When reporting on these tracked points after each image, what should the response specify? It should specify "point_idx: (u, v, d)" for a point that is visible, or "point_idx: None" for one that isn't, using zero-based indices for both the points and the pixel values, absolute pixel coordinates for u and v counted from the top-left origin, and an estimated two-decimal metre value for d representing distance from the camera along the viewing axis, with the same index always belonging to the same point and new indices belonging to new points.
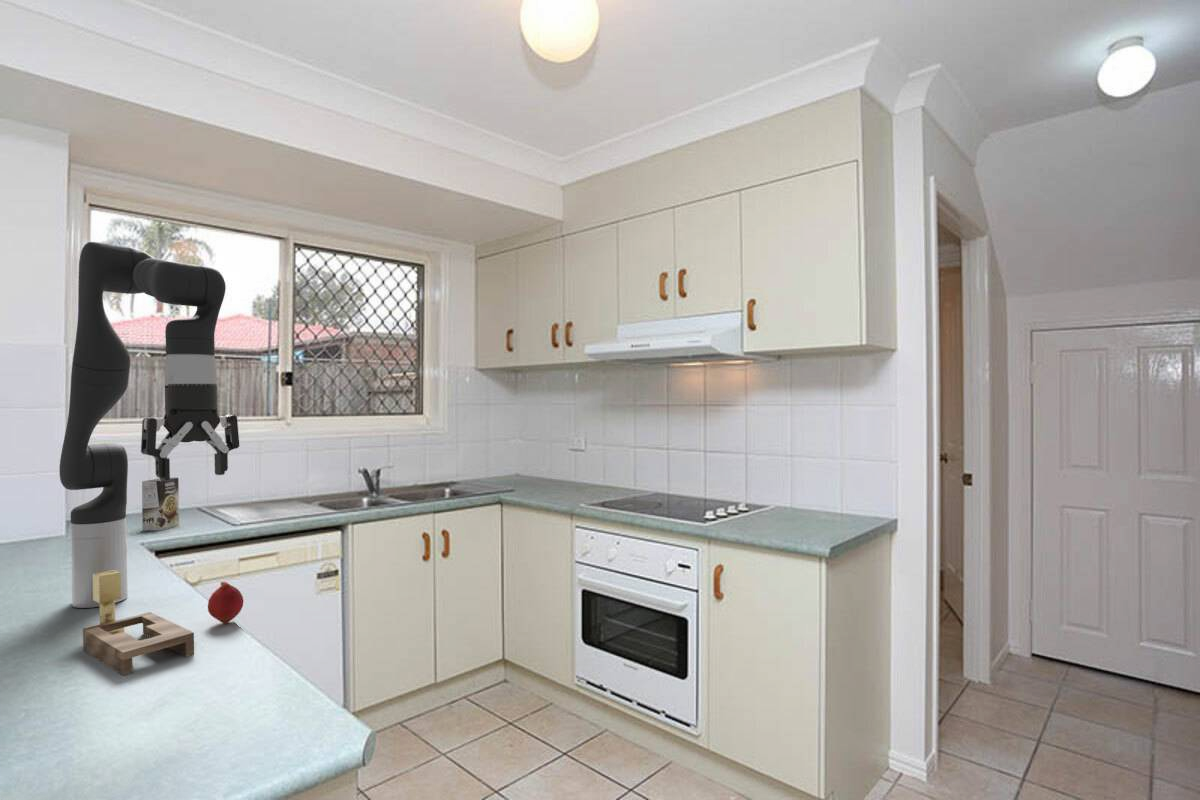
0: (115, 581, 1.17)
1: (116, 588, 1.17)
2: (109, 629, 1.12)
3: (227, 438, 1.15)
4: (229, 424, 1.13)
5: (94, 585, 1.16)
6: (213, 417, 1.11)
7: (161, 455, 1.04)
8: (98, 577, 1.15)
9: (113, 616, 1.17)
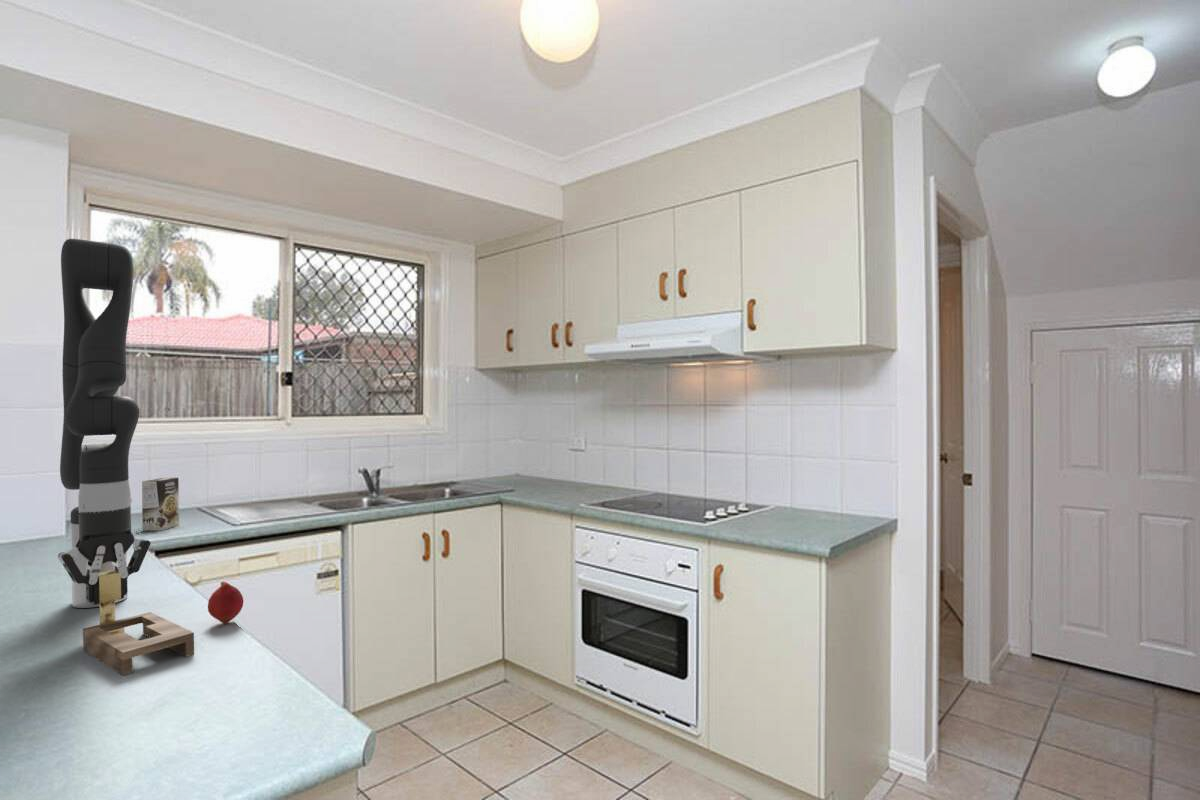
0: (115, 581, 1.17)
1: (116, 588, 1.17)
2: (109, 629, 1.12)
3: (131, 560, 1.21)
4: (140, 548, 1.20)
5: None
6: (128, 537, 1.19)
7: (90, 582, 1.14)
8: (98, 577, 1.15)
9: (113, 616, 1.17)
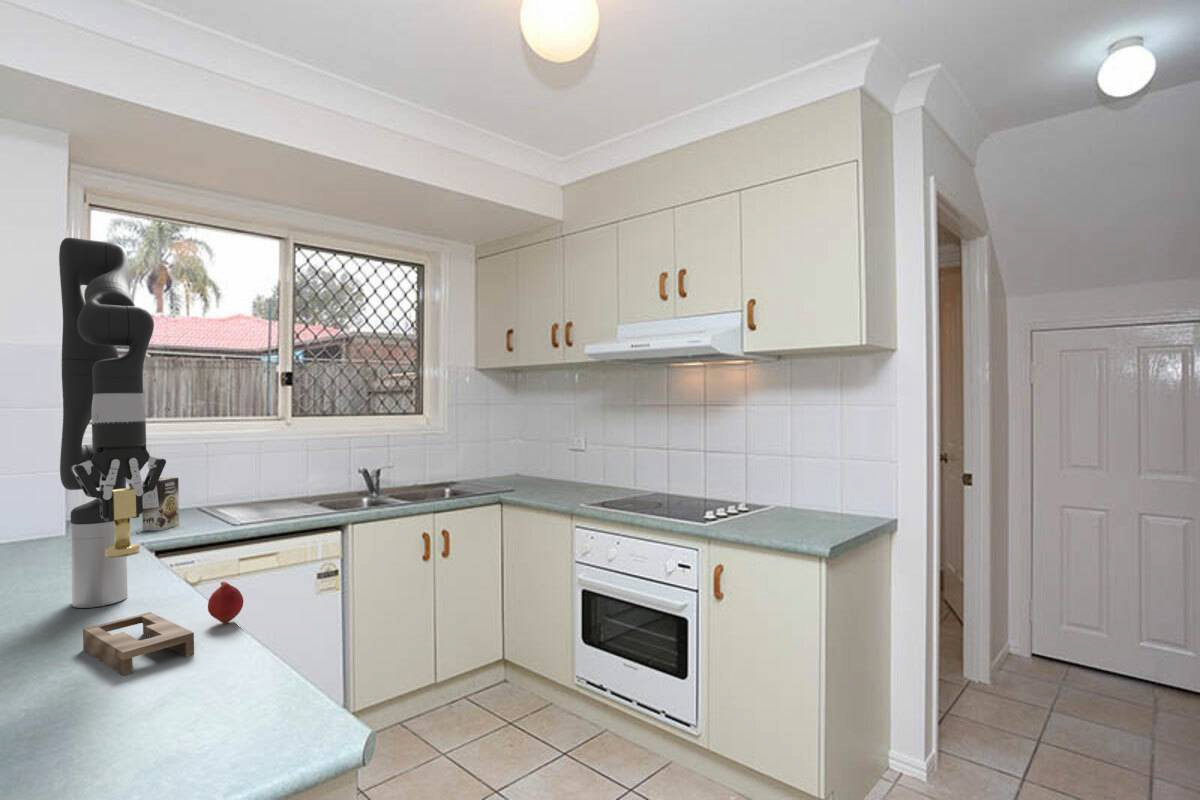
0: (130, 498, 1.11)
1: (131, 505, 1.12)
2: (109, 629, 1.12)
3: (147, 480, 1.16)
4: (155, 466, 1.15)
5: None
6: (143, 453, 1.14)
7: (104, 497, 1.09)
8: (113, 492, 1.10)
9: (128, 535, 1.12)
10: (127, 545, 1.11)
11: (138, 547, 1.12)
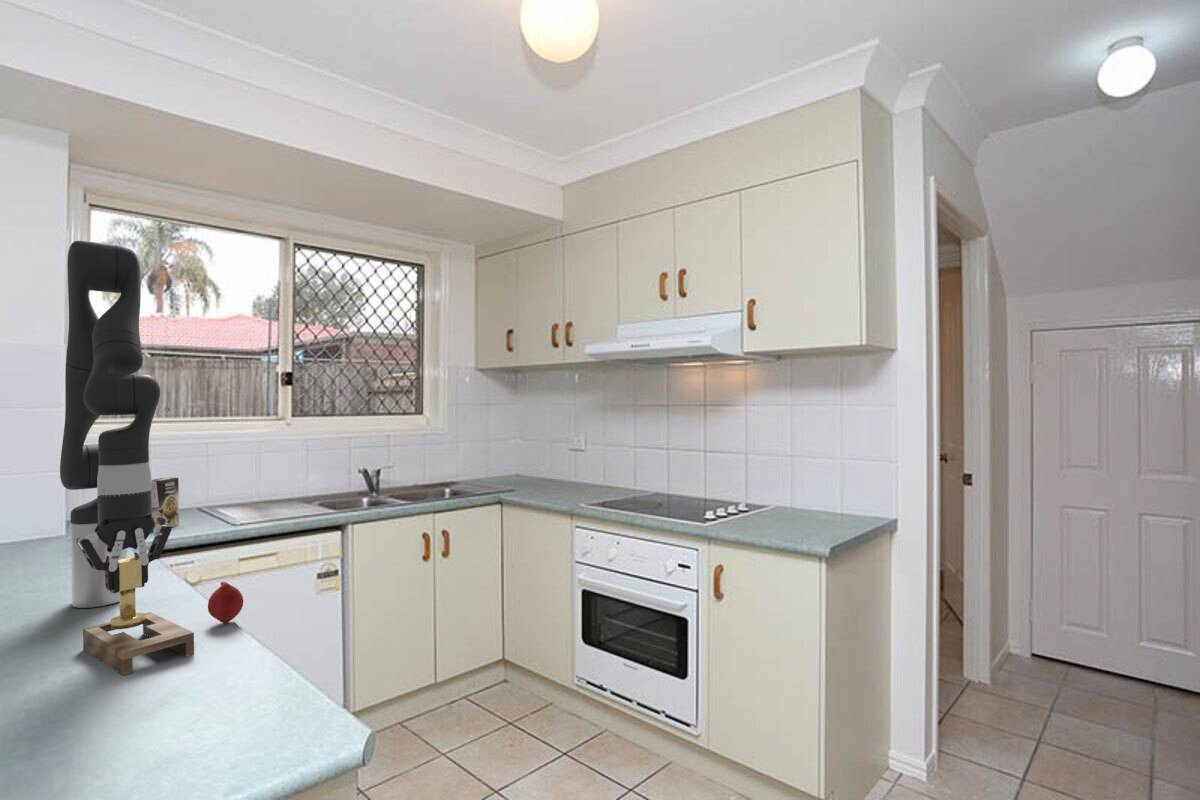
0: (136, 568, 1.11)
1: (137, 575, 1.11)
2: (109, 629, 1.12)
3: (152, 547, 1.15)
4: (161, 533, 1.14)
5: None
6: (149, 522, 1.13)
7: (110, 569, 1.08)
8: (118, 564, 1.09)
9: (134, 605, 1.11)
10: (132, 615, 1.11)
11: (143, 617, 1.12)
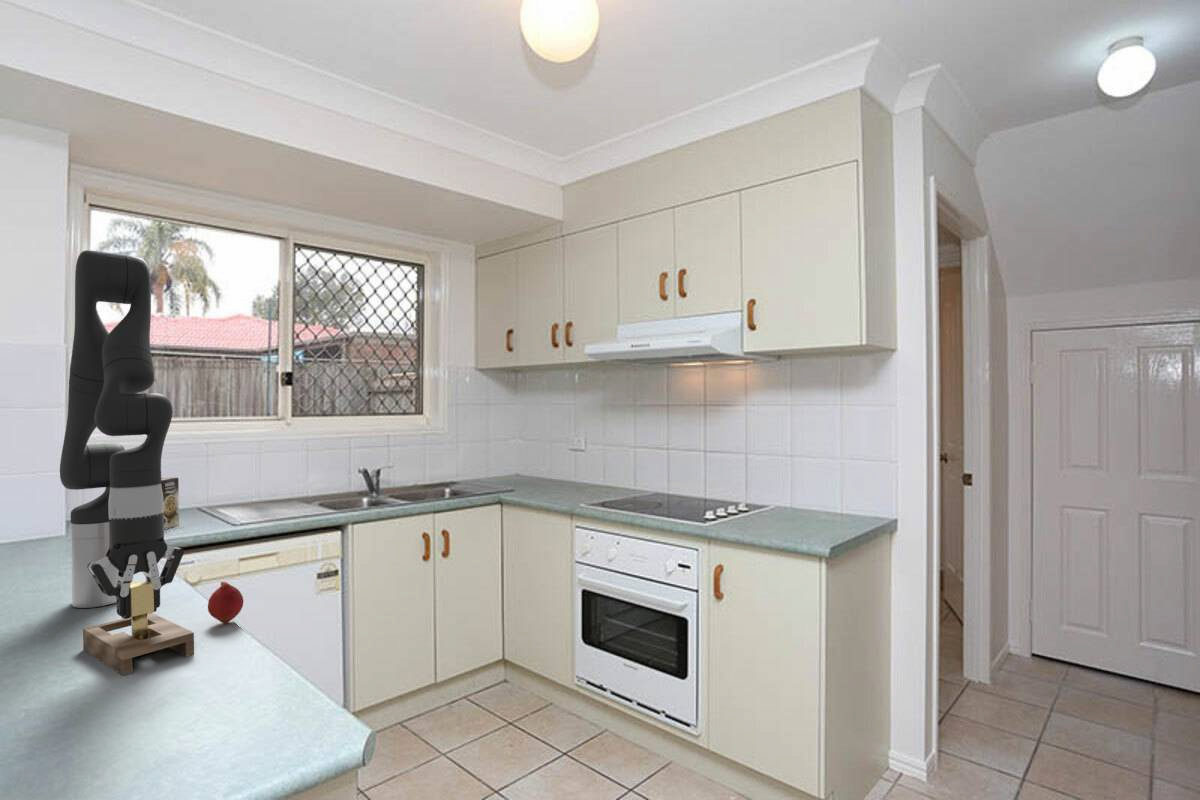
0: (148, 593, 1.08)
1: (149, 600, 1.08)
2: (109, 629, 1.12)
3: (164, 570, 1.12)
4: (173, 556, 1.11)
5: None
6: (161, 545, 1.10)
7: (122, 594, 1.05)
8: (130, 588, 1.06)
9: (146, 631, 1.08)
10: None
11: None
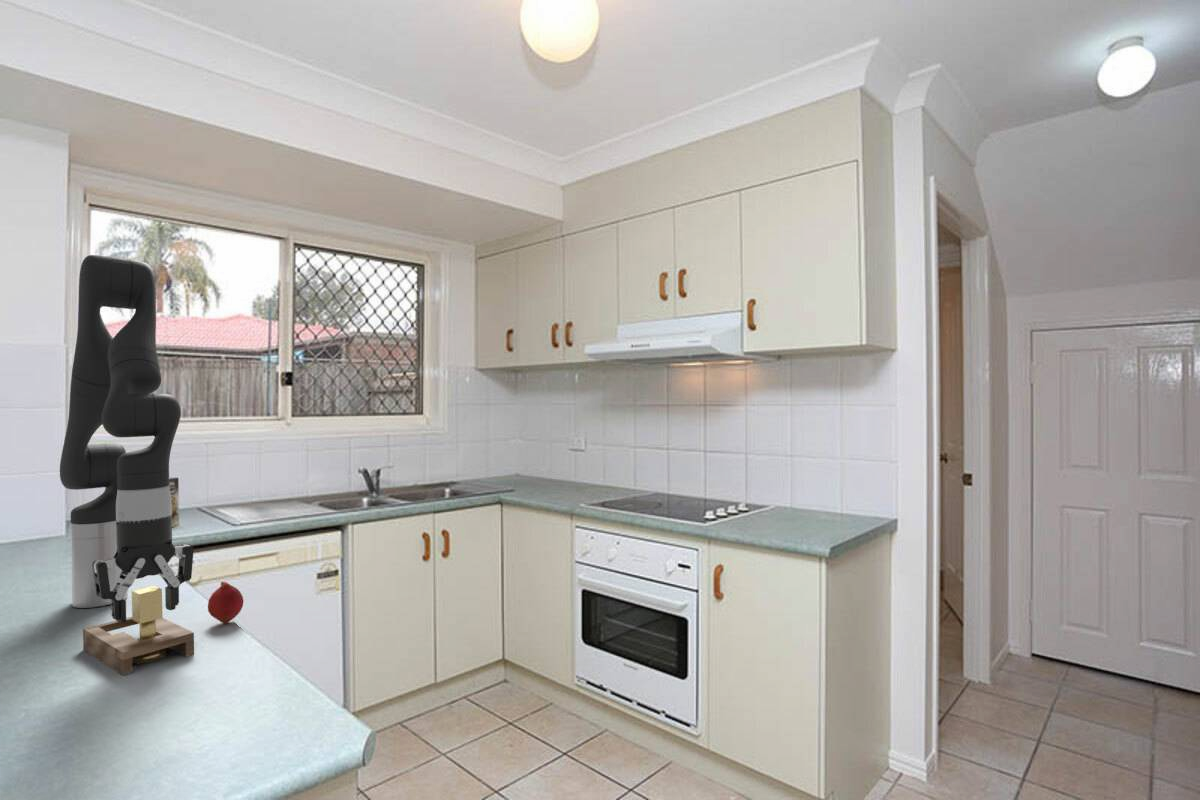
0: (156, 599, 1.06)
1: (157, 606, 1.06)
2: (109, 629, 1.12)
3: (180, 569, 1.11)
4: (184, 555, 1.10)
5: (133, 603, 1.05)
6: (168, 548, 1.08)
7: (117, 597, 1.02)
8: (138, 595, 1.04)
9: None
10: None
11: (164, 649, 1.07)
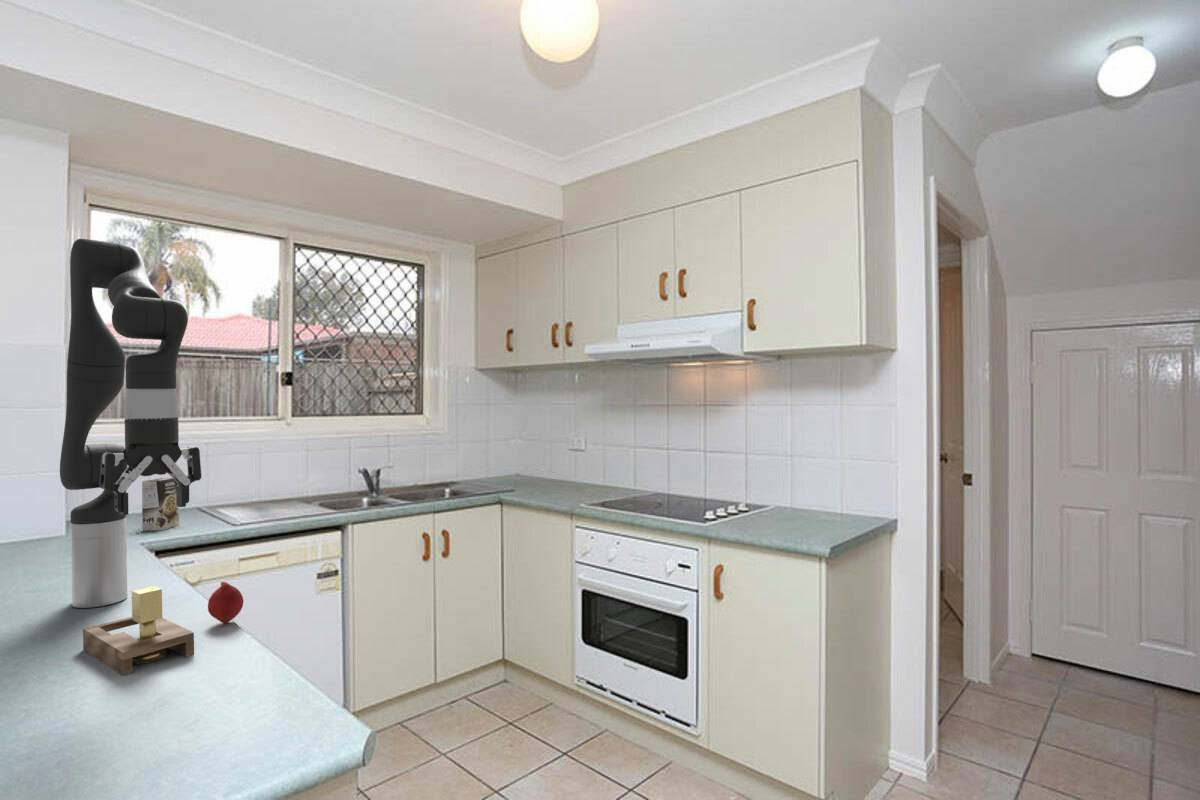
0: (156, 599, 1.06)
1: (157, 606, 1.06)
2: (109, 629, 1.12)
3: (189, 470, 1.15)
4: (191, 456, 1.13)
5: (133, 603, 1.05)
6: (174, 450, 1.11)
7: (119, 490, 1.05)
8: (138, 595, 1.04)
9: None
10: None
11: (164, 649, 1.07)
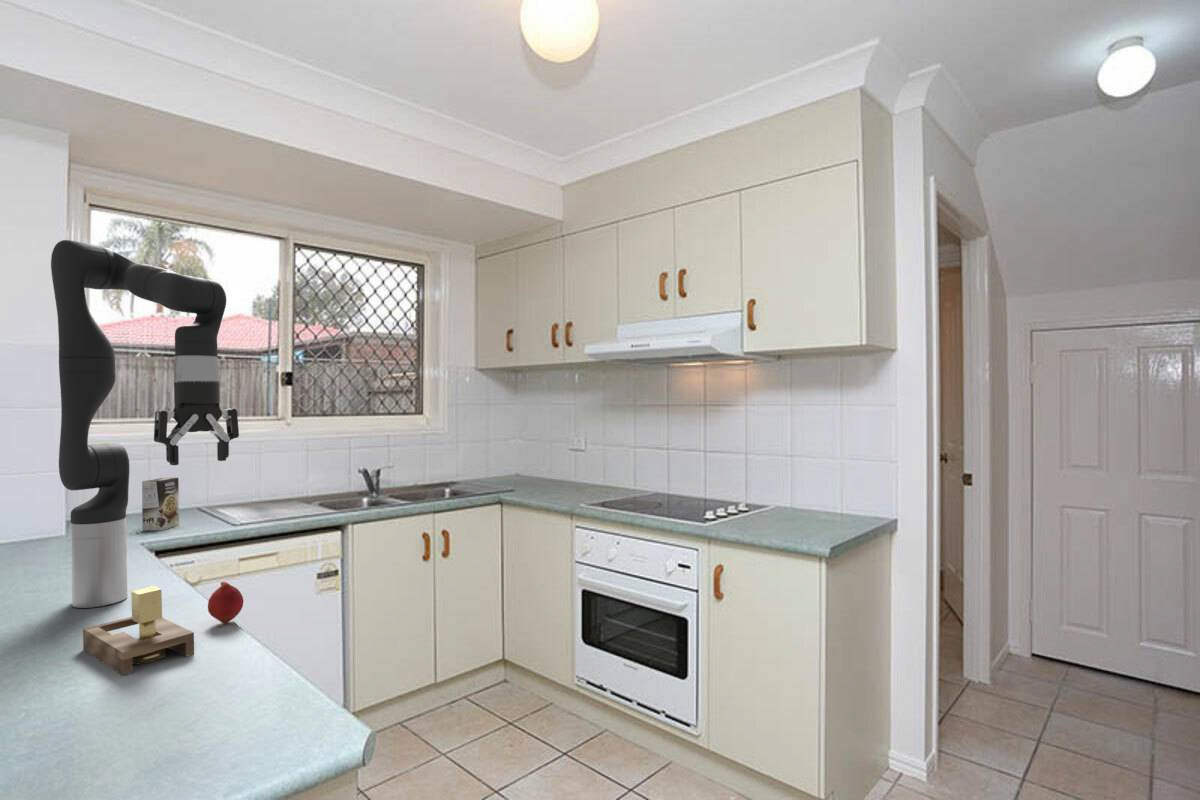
0: (156, 599, 1.06)
1: (157, 606, 1.06)
2: (109, 629, 1.12)
3: (228, 429, 1.31)
4: (230, 416, 1.29)
5: (133, 603, 1.05)
6: (216, 410, 1.27)
7: (171, 443, 1.21)
8: (138, 595, 1.04)
9: None
10: None
11: (164, 649, 1.07)
